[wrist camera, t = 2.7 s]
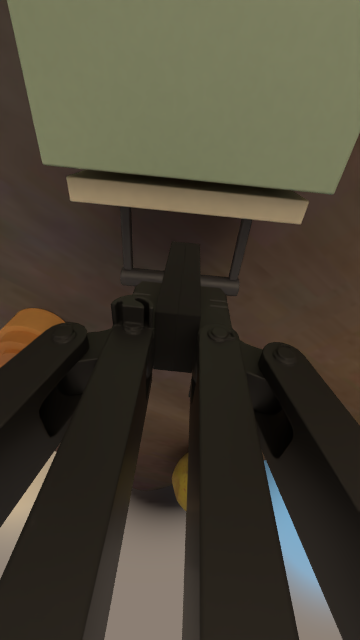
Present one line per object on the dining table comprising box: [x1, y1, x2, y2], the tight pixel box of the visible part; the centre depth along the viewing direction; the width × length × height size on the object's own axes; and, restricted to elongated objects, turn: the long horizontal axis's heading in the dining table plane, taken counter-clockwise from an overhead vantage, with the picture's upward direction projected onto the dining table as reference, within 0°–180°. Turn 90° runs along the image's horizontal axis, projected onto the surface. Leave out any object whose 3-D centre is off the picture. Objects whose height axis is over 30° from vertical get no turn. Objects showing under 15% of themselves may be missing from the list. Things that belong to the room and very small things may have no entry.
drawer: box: [66, 170, 309, 296], centre depth 14 cm, size 22×13×8 cm, turn 175°
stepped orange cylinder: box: [0, 308, 65, 367], centre depth 29 cm, size 7×7×6 cm
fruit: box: [172, 453, 188, 511], centre depth 44 cm, size 11×12×10 cm
